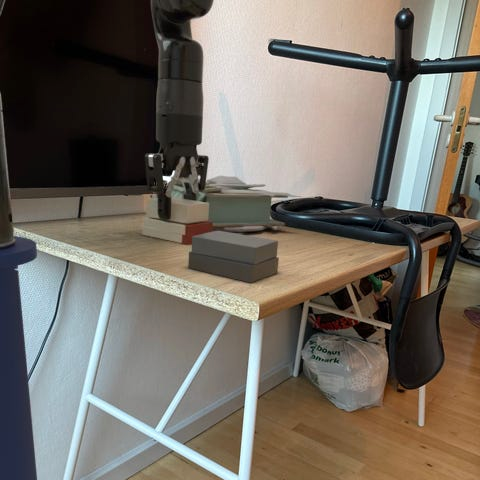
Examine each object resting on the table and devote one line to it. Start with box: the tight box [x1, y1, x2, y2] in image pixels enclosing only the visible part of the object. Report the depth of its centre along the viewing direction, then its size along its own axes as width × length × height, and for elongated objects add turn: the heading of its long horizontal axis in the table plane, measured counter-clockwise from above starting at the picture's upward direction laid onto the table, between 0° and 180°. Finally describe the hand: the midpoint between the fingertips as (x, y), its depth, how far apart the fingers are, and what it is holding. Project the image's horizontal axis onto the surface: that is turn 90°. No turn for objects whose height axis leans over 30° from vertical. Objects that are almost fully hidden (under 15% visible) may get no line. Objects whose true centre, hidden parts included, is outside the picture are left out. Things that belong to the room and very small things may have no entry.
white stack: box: [141, 216, 214, 245], centre depth 85 cm, size 7×10×3 cm
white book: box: [145, 197, 209, 224], centre depth 84 cm, size 6×9×3 cm, turn 57°
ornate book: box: [149, 175, 302, 233], centre depth 102 cm, size 23×10×30 cm
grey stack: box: [187, 231, 280, 284], centre depth 65 cm, size 7×10×4 cm
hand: (177, 216), depth 84 cm, fingers closed on white book, 6 cm apart
